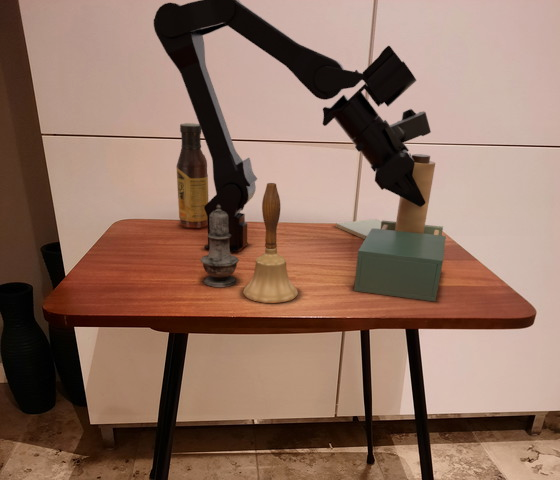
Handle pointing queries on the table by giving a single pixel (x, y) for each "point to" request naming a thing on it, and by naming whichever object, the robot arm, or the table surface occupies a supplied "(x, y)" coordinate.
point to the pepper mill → (412, 214)
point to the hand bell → (270, 259)
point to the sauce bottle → (192, 178)
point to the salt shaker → (219, 252)
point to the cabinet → (400, 264)
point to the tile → (360, 227)
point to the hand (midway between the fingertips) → (422, 201)
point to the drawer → (427, 230)
